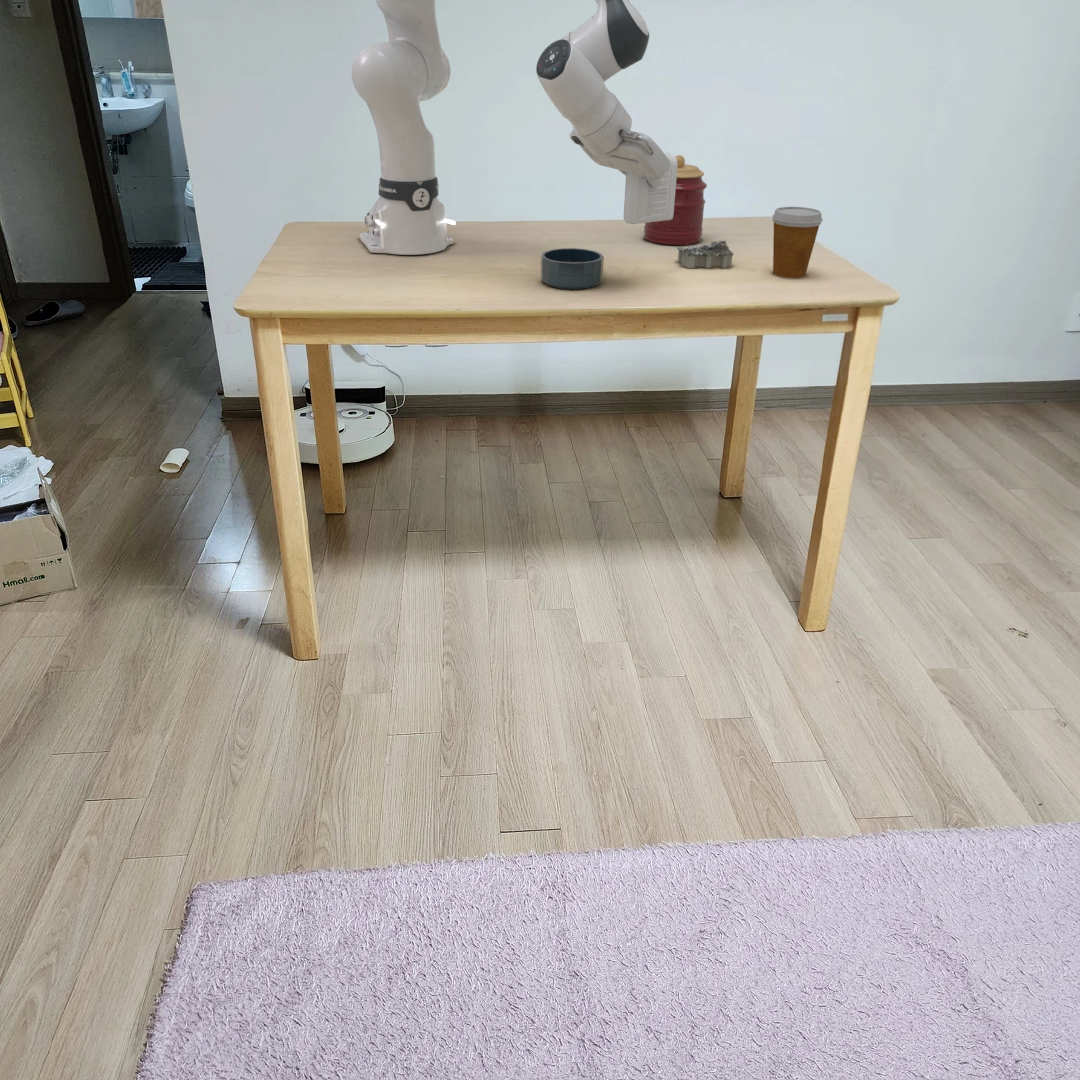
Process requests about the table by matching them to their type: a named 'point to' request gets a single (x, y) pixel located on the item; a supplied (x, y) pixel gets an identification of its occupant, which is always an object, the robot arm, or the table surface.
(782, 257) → the disposable coffee cup
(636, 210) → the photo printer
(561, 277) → the bowl
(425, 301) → the table surface
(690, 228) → the kitchen canister
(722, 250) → the grey packaging insert
